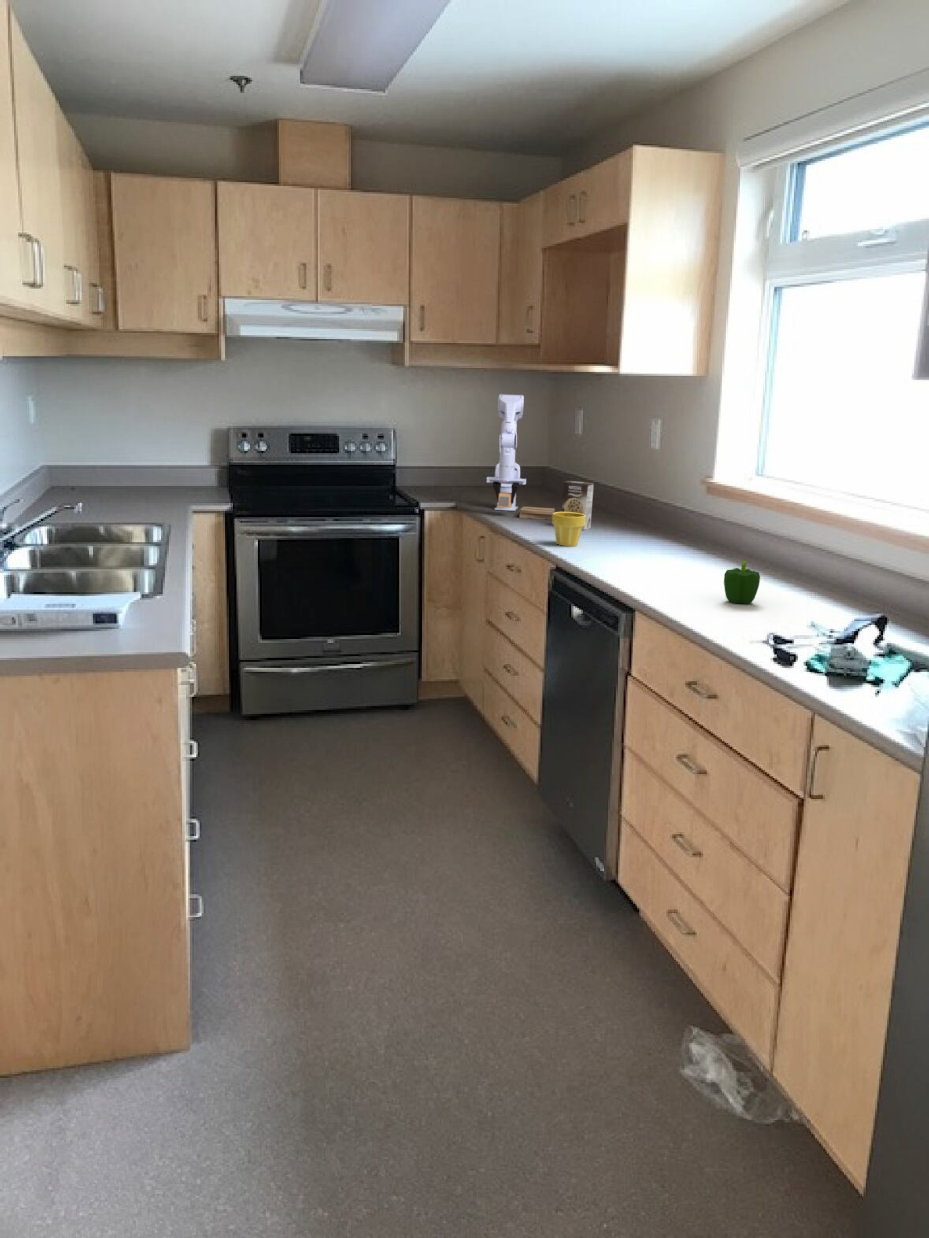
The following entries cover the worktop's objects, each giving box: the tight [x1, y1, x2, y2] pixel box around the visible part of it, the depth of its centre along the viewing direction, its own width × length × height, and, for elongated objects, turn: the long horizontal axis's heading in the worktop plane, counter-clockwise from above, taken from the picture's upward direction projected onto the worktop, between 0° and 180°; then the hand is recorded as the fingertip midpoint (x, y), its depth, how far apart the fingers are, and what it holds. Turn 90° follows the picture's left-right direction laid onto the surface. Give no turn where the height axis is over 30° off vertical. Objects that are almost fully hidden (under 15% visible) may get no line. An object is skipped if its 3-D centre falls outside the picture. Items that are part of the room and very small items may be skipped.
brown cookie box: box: [561, 480, 595, 531], centre depth 349 cm, size 9×6×16 cm
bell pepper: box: [723, 560, 761, 605], centre depth 244 cm, size 8×8×10 cm
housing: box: [498, 492, 512, 508], centre depth 373 cm, size 6×4×5 cm
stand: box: [519, 506, 556, 521], centre depth 373 cm, size 10×12×3 cm
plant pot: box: [551, 511, 585, 547], centre depth 316 cm, size 10×10×10 cm
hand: (505, 502), depth 373 cm, fingers closed on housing, 4 cm apart
